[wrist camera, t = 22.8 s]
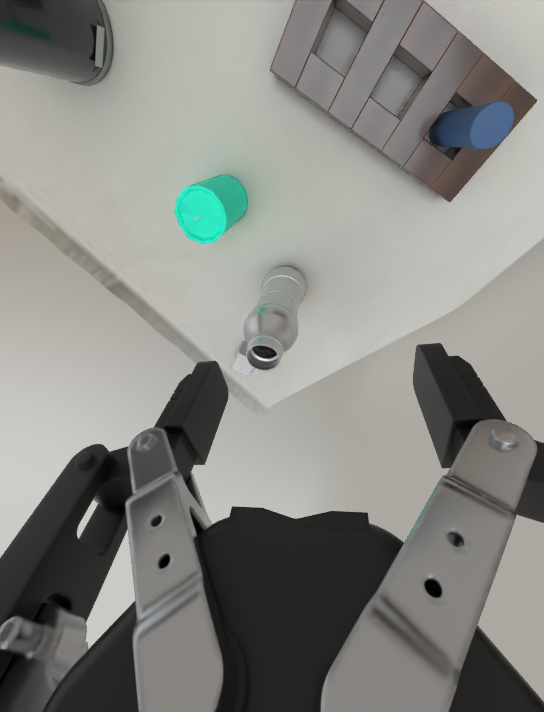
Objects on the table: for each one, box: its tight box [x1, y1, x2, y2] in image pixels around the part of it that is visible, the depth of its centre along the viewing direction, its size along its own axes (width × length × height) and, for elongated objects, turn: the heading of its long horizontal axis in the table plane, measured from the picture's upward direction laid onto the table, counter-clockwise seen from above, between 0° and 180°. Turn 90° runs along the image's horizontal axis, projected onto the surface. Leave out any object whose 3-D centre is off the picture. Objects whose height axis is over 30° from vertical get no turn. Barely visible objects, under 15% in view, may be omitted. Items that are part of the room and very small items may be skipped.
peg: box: [429, 101, 514, 150], centre depth 27 cm, size 3×3×12 cm
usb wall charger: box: [231, 342, 254, 377], centre depth 53 cm, size 4×7×4 cm, turn 156°
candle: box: [174, 175, 248, 244], centre depth 35 cm, size 6×6×12 cm
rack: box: [270, 0, 537, 202], centre depth 30 cm, size 24×10×4 cm, turn 61°
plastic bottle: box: [244, 266, 306, 371], centre depth 38 cm, size 6×7×20 cm
